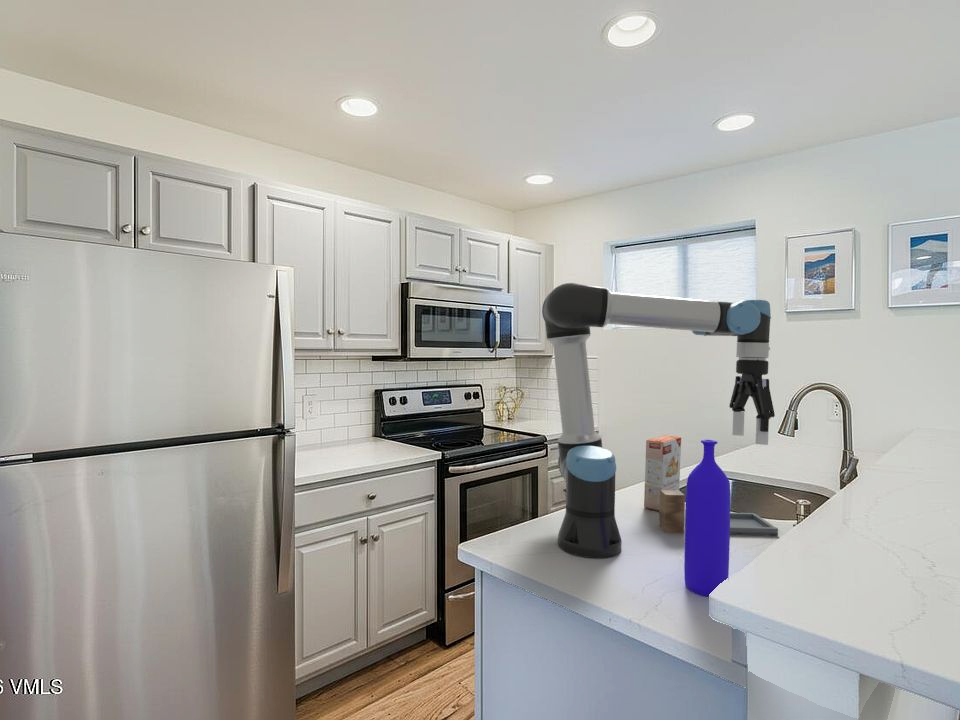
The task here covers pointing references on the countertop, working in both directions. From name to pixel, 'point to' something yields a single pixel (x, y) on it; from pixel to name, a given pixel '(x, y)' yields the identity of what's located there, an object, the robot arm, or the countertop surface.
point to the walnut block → (672, 511)
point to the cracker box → (661, 468)
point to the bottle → (707, 525)
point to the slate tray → (750, 525)
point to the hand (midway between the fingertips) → (749, 439)
